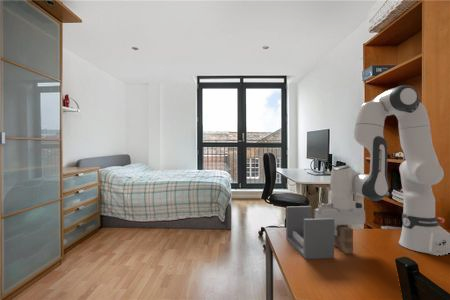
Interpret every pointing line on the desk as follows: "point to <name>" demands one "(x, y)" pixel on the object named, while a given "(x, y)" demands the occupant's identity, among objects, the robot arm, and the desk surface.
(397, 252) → the desk surface
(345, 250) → the door panel
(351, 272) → the desk surface
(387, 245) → the desk surface
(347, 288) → the desk surface
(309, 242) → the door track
